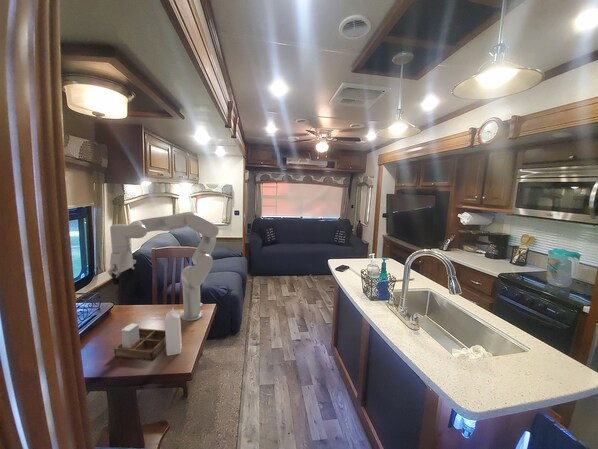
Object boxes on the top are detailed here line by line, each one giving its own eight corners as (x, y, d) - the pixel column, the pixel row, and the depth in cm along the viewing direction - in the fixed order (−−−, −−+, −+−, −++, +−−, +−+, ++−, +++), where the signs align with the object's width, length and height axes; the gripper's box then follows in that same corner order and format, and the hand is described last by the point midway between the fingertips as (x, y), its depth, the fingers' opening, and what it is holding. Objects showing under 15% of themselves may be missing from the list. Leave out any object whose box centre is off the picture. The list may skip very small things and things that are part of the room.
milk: (166, 356, 119) (163, 313, 115) (168, 348, 125) (165, 307, 121) (180, 353, 121) (178, 311, 117) (182, 345, 127) (179, 305, 123)
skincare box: (130, 354, 118) (128, 331, 116) (122, 353, 119) (120, 330, 117) (140, 346, 124) (138, 324, 122) (133, 345, 125) (131, 322, 122)
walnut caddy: (139, 335, 133) (139, 328, 133) (172, 338, 132) (172, 331, 131) (114, 357, 117) (114, 348, 116) (152, 361, 116) (151, 352, 115)
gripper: (127, 243, 135) (129, 273, 138) (99, 252, 118) (103, 287, 121) (140, 244, 134) (142, 274, 137) (114, 253, 118) (117, 288, 121)
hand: (124, 280), depth 129 cm, fingers open, 9 cm apart
